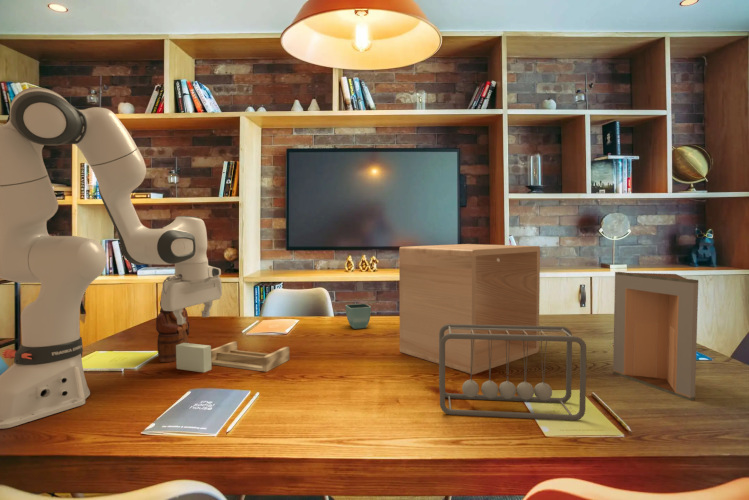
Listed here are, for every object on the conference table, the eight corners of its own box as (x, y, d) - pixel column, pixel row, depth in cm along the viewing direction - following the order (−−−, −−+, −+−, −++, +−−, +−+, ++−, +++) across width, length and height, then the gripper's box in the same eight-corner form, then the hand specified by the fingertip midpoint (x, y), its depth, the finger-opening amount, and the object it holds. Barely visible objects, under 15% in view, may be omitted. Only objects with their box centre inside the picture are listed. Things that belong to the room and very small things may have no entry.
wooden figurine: (175, 363, 134) (173, 304, 133) (154, 363, 134) (153, 304, 133) (194, 352, 145) (192, 298, 144) (175, 352, 146) (174, 297, 145)
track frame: (266, 371, 125) (266, 357, 125) (207, 364, 133) (207, 350, 132) (289, 359, 136) (289, 347, 136) (234, 353, 144) (233, 341, 144)
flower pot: (345, 326, 183) (344, 304, 183) (365, 324, 186) (365, 303, 185) (350, 330, 175) (350, 308, 174) (371, 329, 177) (371, 306, 177)
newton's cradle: (439, 415, 96) (439, 333, 95) (439, 396, 106) (439, 323, 105) (585, 422, 92) (587, 337, 91) (570, 402, 102) (571, 326, 101)
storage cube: (471, 375, 121) (472, 249, 120) (399, 352, 144) (399, 246, 142) (538, 352, 143) (540, 246, 142) (467, 335, 166) (467, 243, 164)
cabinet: (613, 373, 122) (615, 272, 121) (638, 369, 126) (640, 270, 124) (690, 400, 103) (693, 280, 101) (717, 394, 106) (721, 278, 105)
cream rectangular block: (204, 372, 125) (203, 348, 125) (176, 368, 129) (175, 345, 128) (211, 369, 128) (210, 345, 127) (184, 365, 131) (183, 342, 131)
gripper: (171, 278, 116) (174, 329, 117) (224, 269, 135) (226, 313, 136) (153, 277, 118) (156, 327, 119) (208, 268, 137) (210, 312, 138)
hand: (194, 320), depth 128 cm, fingers open, 8 cm apart
